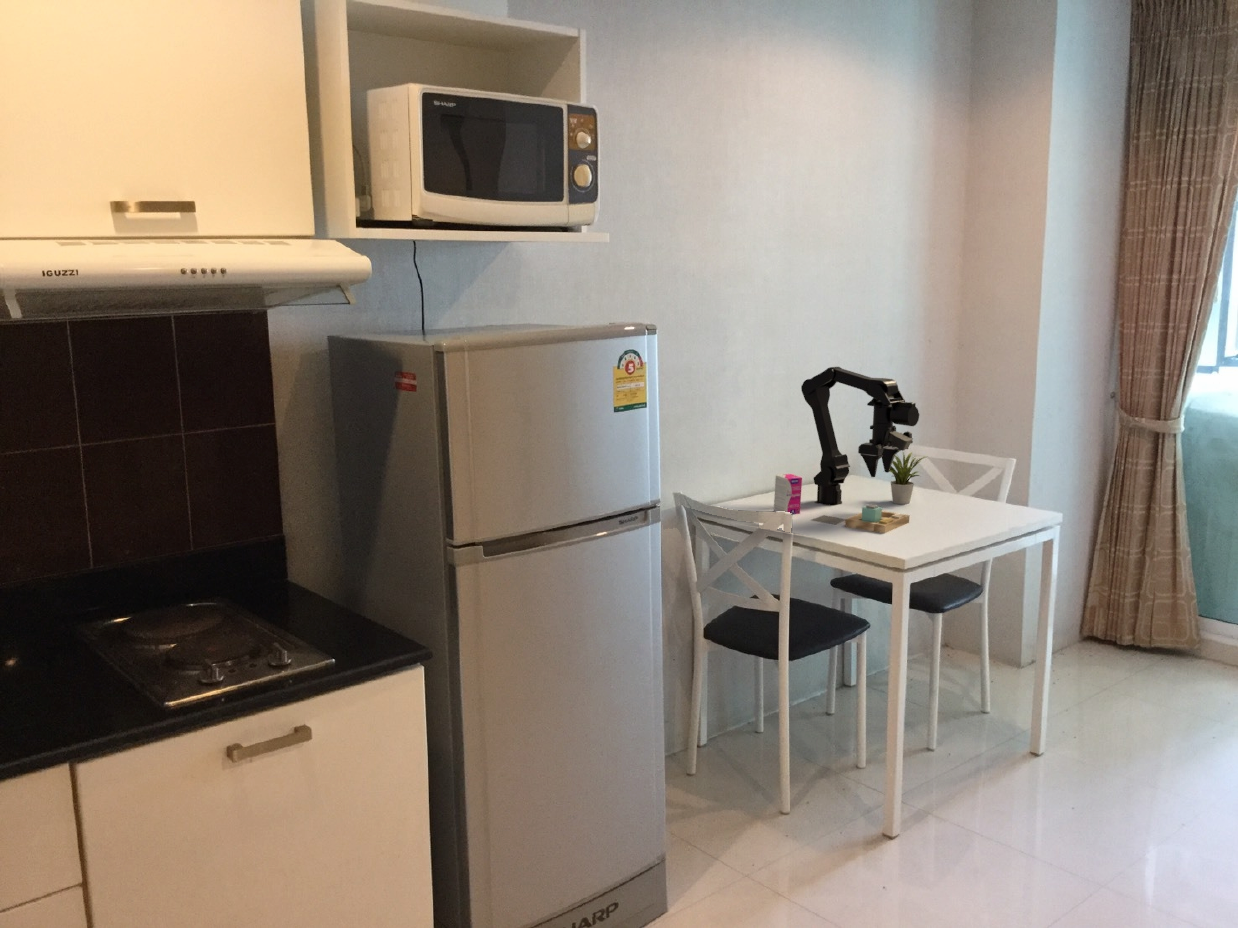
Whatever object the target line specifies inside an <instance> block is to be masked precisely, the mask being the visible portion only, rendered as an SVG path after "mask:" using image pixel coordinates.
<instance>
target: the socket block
mask: <svg viewBox="0 0 1238 928" xmlns="http://www.w3.org/2000/svg"><path fill="white" fill-rule="evenodd" d="M910 516H911V515H909V514H904V513H898V512H891V511H884V510H882V512H881V520H880V521H879V522H878V523H873V522H867V521H862V512H860V513H858V514H855V515H852V516H849V517H847V518H844V519H845V521H844V527H846V528H852V529H858V530H863V531H867V532H875V533H881V534H887V533H889V532H890V531H891V532H892V531H893V530H896V529H898V528H900V527H902V526H904V525H907V524H910Z"/></svg>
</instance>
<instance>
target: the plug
mask: <svg viewBox="0 0 1238 928" xmlns="http://www.w3.org/2000/svg"><path fill="white" fill-rule="evenodd" d="M882 511H883V507H879V505H877V504H868V505H865V506H863V507H861V513H862V521H867V522H873V523H878V522H879V521H880V520H881V512H882Z"/></svg>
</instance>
